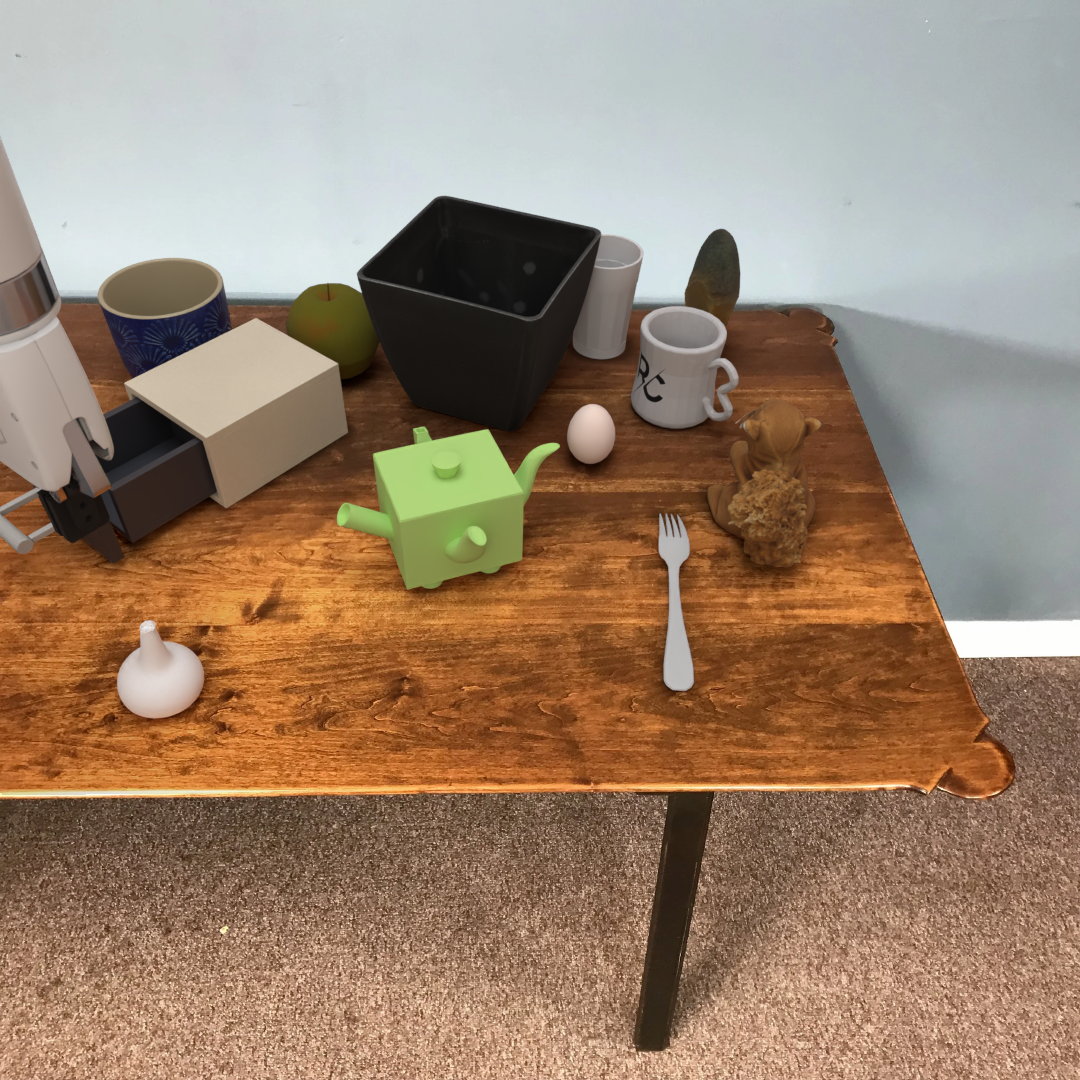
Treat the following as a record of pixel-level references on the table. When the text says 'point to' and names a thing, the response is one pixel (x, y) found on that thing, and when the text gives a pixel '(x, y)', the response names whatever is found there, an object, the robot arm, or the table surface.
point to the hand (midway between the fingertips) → (84, 527)
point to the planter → (163, 310)
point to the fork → (675, 607)
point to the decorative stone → (715, 276)
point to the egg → (591, 434)
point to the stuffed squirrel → (768, 486)
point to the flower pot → (478, 306)
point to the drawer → (135, 480)
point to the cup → (609, 299)
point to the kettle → (448, 506)
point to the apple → (334, 326)
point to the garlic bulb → (159, 676)
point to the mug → (681, 368)
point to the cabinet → (249, 404)
